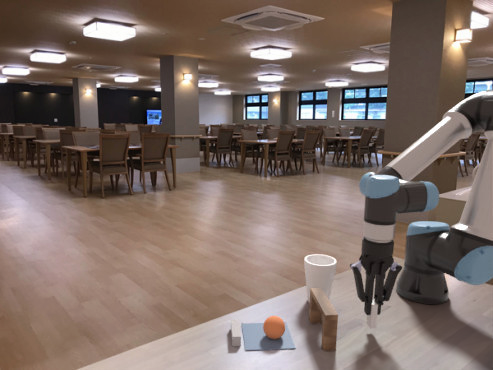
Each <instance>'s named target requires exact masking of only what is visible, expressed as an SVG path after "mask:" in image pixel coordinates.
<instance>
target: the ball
mask: <svg viewBox="0 0 493 370" xmlns="http://www.w3.org/2000/svg"><path fill="white" fill-rule="evenodd" d="M284 322H285V321H284V320H283V319H282V318H281V317H280V316H278V315H272V316H271V315H270V316H268V317H267V318H266V319H265V320H264V322H263V323H264V325H263V330H264V333H265V334H266V336H268V337H269V338H271V339H278V338H280V337H281V336H282V335H283V334H284V332H285V323H284Z"/></svg>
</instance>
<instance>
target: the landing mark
mask: <svg viewBox="0 0 493 370" xmlns="http://www.w3.org/2000/svg"><path fill="white" fill-rule="evenodd" d="M284 323H285V332H284V334H283V335H282V336H281V337H280V338H278V339H271V338H269V337H268V336H266V334H265V333H264V330H263V325H264V322H253V323H252V322H250V323H246V322H245V323H241V328H242V336H243V341H244V348H245V349H244V350H245V352H248V351H251V352H252V351H271V350H272V351H274V350H296V345H295V342H294V340H293V337H292V335H291V331H290V328H289V326H288V323H287V321H284Z"/></svg>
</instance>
